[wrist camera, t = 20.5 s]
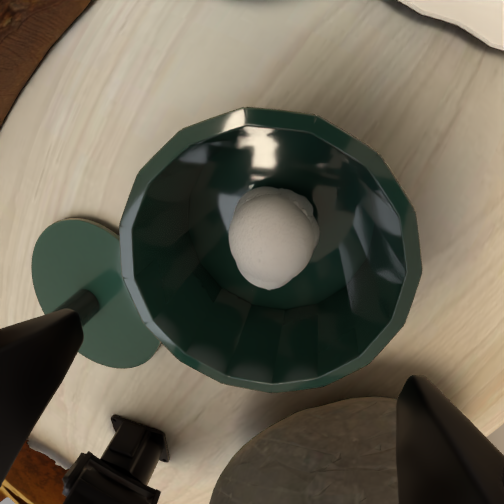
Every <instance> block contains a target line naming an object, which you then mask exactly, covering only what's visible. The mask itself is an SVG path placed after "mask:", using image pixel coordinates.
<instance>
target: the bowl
mask: <svg viewBox="0 0 504 504" xmlns="http://www.w3.org/2000/svg"><path fill="white" fill-rule="evenodd" d="M396 403H397V399H394V398H387V397H380V396H373V397H358V398H350V399H346V400H342V401H338V402H334V403H330V404H327V405H323V406H319V407H316V408H309V409H305V410H302V411H300V412H297V413H294V414H293V415H291V416H290V417H287V418H285V419H283V420H281V421H280V422H278V423H276V424H274V425H272V426H270V427H269V428H267V429H266V430H264V431H263V432H261V433H260V434H258V435H257V436H255V437H254V438H252V440H250V441H249V442H248V443H247V444H245V445H244V446H243V447H242V448H241V449H240V450H239V451H238V452H237V453H236V454H235V455H234V456H233V457H232V459H231V460H230V462H229V463H228V464H227V466H226V467H225V469H224V470H223V472H222V473H221V475H220V477H219V479H218V481H217V483H216V486H215V488H214V490H213V493H212V496H211V500H210V503H209V504H399V501H398V480H397V465H396Z"/></svg>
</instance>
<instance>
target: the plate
mask: <svg viewBox="0 0 504 504" xmlns="http://www.w3.org/2000/svg"><path fill="white" fill-rule="evenodd" d="M396 1H398V2H399V3H401V4H403V5H405V6H406V7H408V8H410V9H411V10H413V11H415V12H416V13H418V14H420V15H423V16H426V17H430V18H433V19H437V20H440V21H443V22H446V23H449V24H452V25H455V26H458V27H459V28H461V29H463V30H464V31H466V32H467V33H469V34H471V35H472V36H474V37H475V38H477V39H478V40H480V41H481V42H483V43H484V44H486V45H487V46H488V47H491V48H494V49H498V50H501V51H504V0H396Z"/></svg>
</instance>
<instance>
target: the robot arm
mask: <svg viewBox="0 0 504 504" xmlns="http://www.w3.org/2000/svg"><path fill="white" fill-rule="evenodd" d="M83 340H84V333H83V328H82V324H81V319H80V315H79V313H78V312H76V311H74V310H71V309H62V310H59V311H56V312H53V313H49V314H46V315H43V316H40V317H37V318H33V319H30V320H27V321H24V322H21V323H17V324H14V325H11V326H8V327H5V328H2V329H0V487H1V486H2V483H3V481H4V479H5V477H6V476H7V474H8V472H9V470H10V468H11V466H12V464H13V463H14V461H15V459H16V457H17V455H18V454H19V452H20V450H21V448H22V447H23V445H24V443H25V441H26V440H27V438H28V436H29V435H30V433H31V431H32V429H33V428H34V426H35V424H36V423H37V421H38V419H39V418H40V416H41V415H42V413H43V411H44V410H45V408H46V406H47V405H48V403H49V402H50V400H51V399H52V397H53V395H54V394H55V392H56V391H57V389H58V388H59V386H60V384H61V383H62V381H63V379H64V377H65V375H66V374H67V372H68V370H69V368H70V366H71V364H72V362H73V360H74V358H75V356H76V354H77V352H78V351H79V349H80V347H81V345H82V343H83ZM111 421H112V424H113V427H114V429H115V432H116V434H115V435H114V437H113V438H112V440H111V442H110V443H109V445H108V447H107V448H106V450H105V452H104V453H103V455H102V457H101V458H100V459H99V458H97V457H96V456H94V455H93V454H92V453H91V452H89V451H88V452H87V454H84V453H81V454H80V456H79V457H78V459H77V460H76V462H75V463H74V464H73V466H72V467H71V468H70V469H69V470H68V472H67V473H66V474H65V475H64V477H63V478H62V480H63V483H64V486H63V488H64V489H63V492H62V494H63V495H64V496H66V499H65V501H64V502H63V504H157V502H158V499H159V496H160V493H161V491H159V490H157V489H156V490H155V489H153V488H151V487H149V486H147V484H148V482H149V480H150V478H151V476H152V474H153V472H154V469H155V467H156V465H157V463H158V461H159V460H160V461H163V462H168V461H169V454H168V449H167V444H166V438H165V434H164V433H163V432H161V431H159V430H155V429H152V428H149V427H146V426H143V425H140V424H138V423H135V422H132V421H129V420H126V419H124V418H121V417H118V416H116V415H112V417H111ZM396 465H397V480H398V501H399V504H504V455H503V454H502V453H501V452H500V451H499V450H498V449H497V448H496V447H495V446H494V445H493V444H492V443H491V442H490V441H489V440H488V439H487V438H486V437H485V436H484V435H483V434H482V433H481V432H480V431H479V430H478V429H477V428H476V427H475V426H474V424H473V423H472V422H471V421H470V420H469V419H468V418H467V417H466V416H465V415H464V414H463V413H462V412H461V411H460V410H459V409H458V408H457V407H456V406H455V405H454V404H453V403H452V402H451V401H450V400H449V399H448V398H447V397H446V396H445V395H444V394H443V393H442V392H441V391H440V390H439V389H438V388H436V387H435V386H434V385H433V384H432V383H431V382H430V381H429V380H428V379H427V378H426V377H425V376H417V375H412V376H410V377H409V378H408V379H407V381H406V383H405V385H404V387H403V389H402V391H401V393H400V394H399V396H398V399H397V403H396Z"/></svg>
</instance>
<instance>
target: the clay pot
mask: <svg viewBox="0 0 504 504" xmlns="http://www.w3.org/2000/svg"><path fill="white" fill-rule="evenodd" d="M27 441H28V440H26V441H25V443H24V445H23V447H22V448H21V450H20V452H19V454H18V455H17V457H16V459H15V461H14V463H13V464H12V466H11V468H10V470H9V472H8V474H7V476H6V477H5V479H4V481H3V483H2V486H1V487H0V502H1V501H2V500H3V499H5V498H6V497H9V498H10V499H12V501H13V502H14V503H16V504H63V502H64V501H65V499H66V496H64V495H63V494H62V492H63V489H64V488H63V486H64V483H63V480H62V478H63V477H64V475H65V474H66V473H67V472H68V470H69V469H67V470H65V469H64V468H62V467H61V466H58V465H56V464H55V461H54V460H53V459H50V458H49V457H48V456H46V455H45V454H42V453H41V452H38V451H35V450H33V449H31V448H29V445H28V444H27Z"/></svg>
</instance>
